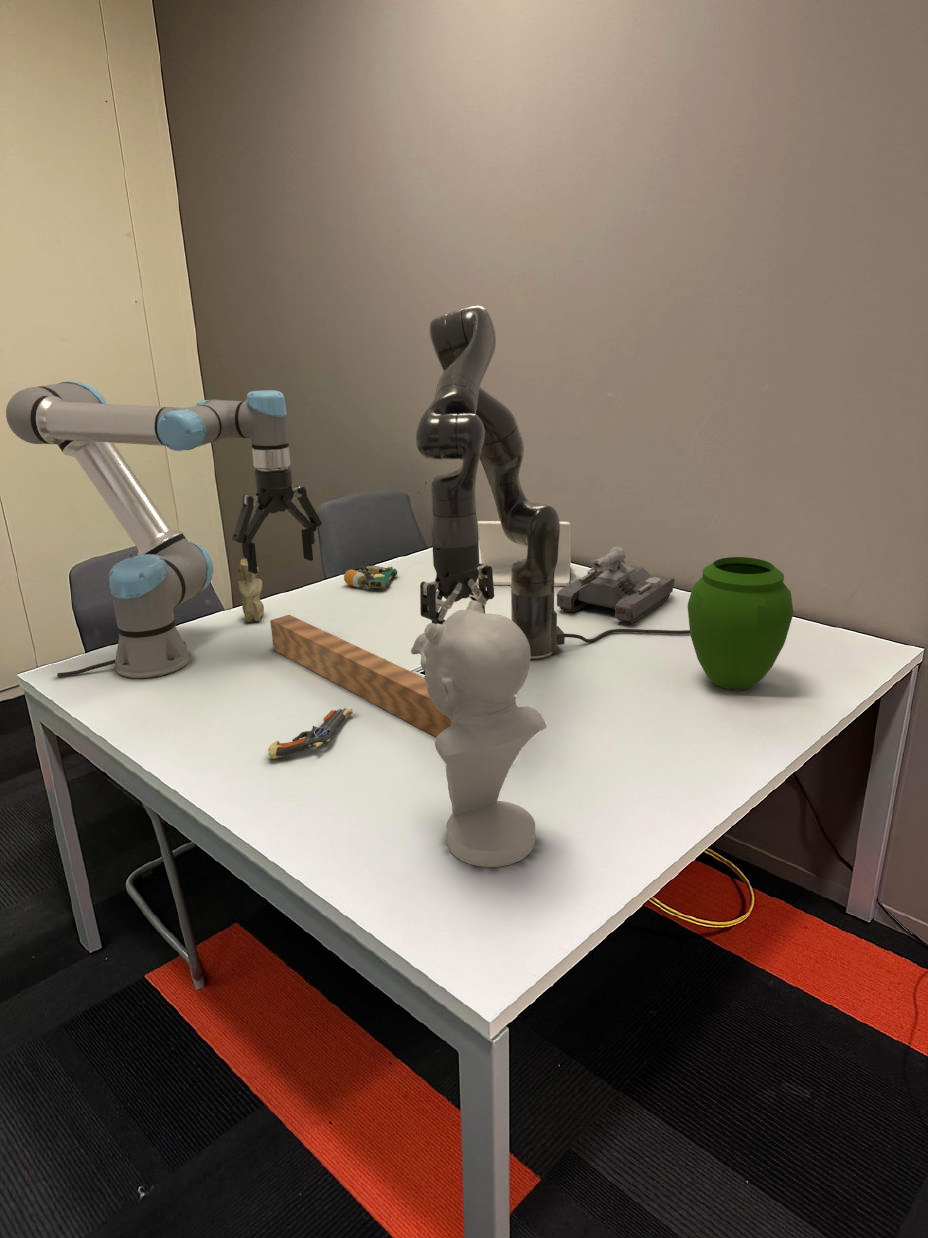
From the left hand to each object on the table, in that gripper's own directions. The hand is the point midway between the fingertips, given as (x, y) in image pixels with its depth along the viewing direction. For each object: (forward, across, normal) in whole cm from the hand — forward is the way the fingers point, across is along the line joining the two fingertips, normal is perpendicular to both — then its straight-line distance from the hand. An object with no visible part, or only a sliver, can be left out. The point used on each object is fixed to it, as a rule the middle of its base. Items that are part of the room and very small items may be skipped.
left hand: (281, 565), depth 185 cm
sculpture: (+20, -5, -25) cm, 32 cm away
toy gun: (+20, +18, +38) cm, 47 cm away
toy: (+19, -74, +33) cm, 84 cm away
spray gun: (+20, -43, -27) cm, 54 cm away
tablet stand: (+20, -76, -1) cm, 78 cm away
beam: (+20, 0, +30) cm, 36 cm away
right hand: (-1, 0, +58) cm, 58 cm away
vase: (+18, -55, +78) cm, 97 cm away
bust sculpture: (+19, +17, +80) cm, 84 cm away
